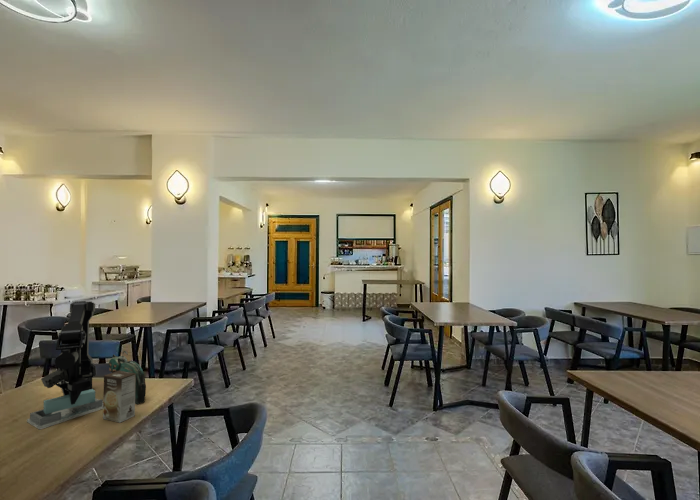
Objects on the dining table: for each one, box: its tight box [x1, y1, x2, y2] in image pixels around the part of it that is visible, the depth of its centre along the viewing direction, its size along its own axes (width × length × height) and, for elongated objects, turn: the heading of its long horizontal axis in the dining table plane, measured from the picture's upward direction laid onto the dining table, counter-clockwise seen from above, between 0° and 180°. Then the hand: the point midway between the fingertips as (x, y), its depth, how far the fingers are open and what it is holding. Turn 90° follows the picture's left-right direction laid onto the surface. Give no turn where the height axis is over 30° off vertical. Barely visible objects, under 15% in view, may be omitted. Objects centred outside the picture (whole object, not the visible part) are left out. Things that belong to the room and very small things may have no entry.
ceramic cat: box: [108, 350, 147, 405], centre depth 149 cm, size 20×6×20 cm, turn 63°
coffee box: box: [102, 370, 136, 424], centre depth 132 cm, size 9×6×16 cm
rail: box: [43, 388, 96, 414], centre depth 135 cm, size 15×4×4 cm, turn 140°
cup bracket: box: [26, 397, 103, 430], centre depth 134 cm, size 22×11×3 cm, turn 149°
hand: (70, 403), depth 135 cm, fingers closed on rail, 4 cm apart
